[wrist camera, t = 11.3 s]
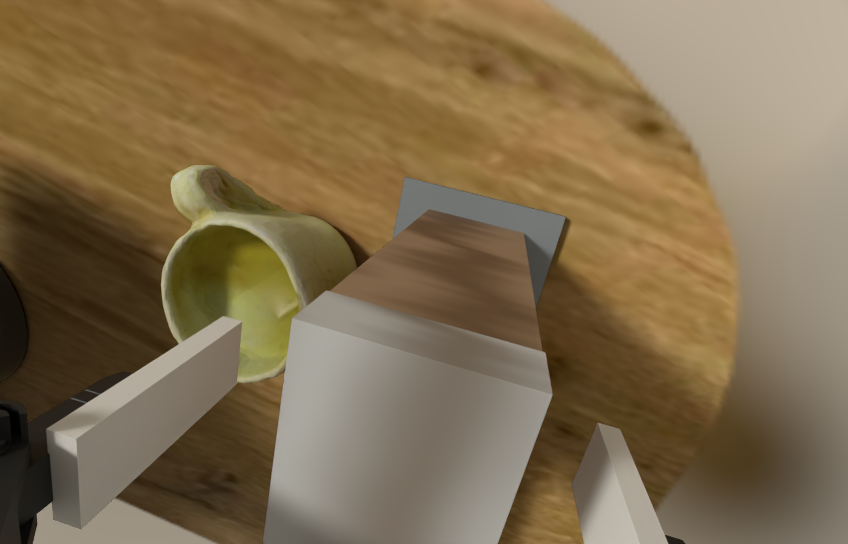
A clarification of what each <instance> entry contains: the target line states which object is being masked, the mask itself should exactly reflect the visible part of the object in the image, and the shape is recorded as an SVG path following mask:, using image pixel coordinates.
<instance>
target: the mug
mask: <svg viewBox="0 0 848 544" xmlns="http://www.w3.org/2000/svg"><path fill="white" fill-rule="evenodd" d="M171 194H172V198H173V202H174V205H175V207H176V209H177V210H178V212H179V214H180V215H181V216H183V217H184V218H185V219H186V220H187V221H189V222H190V223H191V224H192V227H191V229H190V230H189V231H188V232H187V233H186V234H185V235H183V236H182V237H181V238H179V239H178V240H177V241H176V242H175V244H174V246H173V248H172V249H171V251H170V253H169V255H168V257H167V259H166V262H165V265H164V267H163V271H162V280H161V291H162V301H163V307H164V311H165V315H166V318H167V322H168V325H169V328H170V330H171V333H172V335H173V337H174V338H175V339H176V340H177V342H178V343H179V344H180V343H182V342H183V341H185V340H187V339H188V338H190V337H191V336H193V335H194V334H196V333H197V332H199V331H201V330H202V329H204V328H205V327H207V326H208V325H210V324H212V323H213V322H215V321H216V320H218V319H219V318H221V317H223V316H225V317H228V318H232V319H235V320H239V321H242V331H241V342H240V353H239V364H238V376H237V382H241V383H251V382H260V381H262V380H265V379H270V378H273V377H277V376H278V375H280V374H281V373H283V372H284V371H285V368H286V361H287V353H288V345H289V337H290V330H291V322H292V318H293V317H294V316H295V315H297V314H298V313H299V312H300V311H301V310H303V309H304V308H305V307H306V306H308V305H309V304H310V303H311V302H313V301H314V300H315V299H316V298H318V297H319V296H320V295H321V294H323V293H324V292H325V291H326V290H327V291H330V290H332V289H333V288H334V287H335V286H336V285H338V284H339V283H340V282H341V281H342V280H344V279H345V278H346V277H347V276H348V275H350V274H351V273H352V272H353V271H355V270H356V269H357V268H358V267H357V264H356V261H355V258H354V255H353V253H352V251H351V249H350V247H349V245H348V244H347V242H346V241H345V239H344V238H343V237H342V236H341V234H340V233H339V232H338V231H337V230H336V229H335V228H333V227H332V226H331V225H330V224H328V223H327V222H325V221H323V220H321V219H319V218H317V217H313V216H308V215H303V214H299V213H293V212H289V211H286V210H285V209H283V208H282V207H280V206H278V205H276V204H273V203H271V202H269V201H268V200H266V199H264V198H262V197H260V196H258V195H257V194H256V193H255V192H254V191H253V190H252V189H251V188H250V187H249V186H247V185H246V184H244V183H243V182H242V181H240V180H238V179H236V178H234V177H232V176H231V175H230V174H228V172H226V171H224V170H223V169H221V168H219V167H217V166H214V165H195V166H191V167H189V168H186V169H184V170H182V171H180V172H178V173H177V174H175V175H174V176H173V178H172V181H171Z"/></svg>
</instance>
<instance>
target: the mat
mask: <svg viewBox="0 0 848 544" xmlns="http://www.w3.org/2000/svg"><path fill="white" fill-rule="evenodd" d="M429 209H431V210H435V211H439V212H443V213H447V214H451V215H455V216H459V217H463V218H467V219H471V220H475V221H479V222H483V223H487V224H491V225H494V226H498V227H502V228H506V229H510V230H514V231H518V232H522V233H524V238H525V244H526V250H527V257H528V263H529V269H530V275H531V282H532V288H533V294H534V301H535V307H536V306H537V303H538V300H539V297H540V294H541V291H542V288H543V285H544V282H545V279H546V276H547V273H548V270H549V267H550V264H551V261H552V258H553V255H554V252H555V249H556V246H557V243H558V240H559V237H560V234H561V231H562V228H563V225H564V221H565V218H566V217H565V216H562V215H558V214H554V213H550V212H546V211H542V210H538V209H534V208H530V207H526V206H522V205H518V204H514V203H510V202H505V201H501V200H497V199H493V198H489V197H485V196H481V195H477V194H473V193H469V192H465V191H461V190H457V189H453V188H449V187H445V186H441V185H437V184H432V183H428V182H424V181H420V180H416V179H412V178H408V177H405V180H404V185H403V190H402V195H401V200H400V205H399V210H398V215H397V220H396V225H395V230H394V235H393V238H395V237H396V236H397V235H398V234H399V233H401V232H402V231H403V230H404V229H405V228H407V227H408V226H409V225H410V224H412V223H413V222H414V221H415V220H416V219H418V218H419V217H420V216H421V215H422V214H424V213H425V212H426V211H427V210H429Z"/></svg>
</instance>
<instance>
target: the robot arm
mask: <svg viewBox="0 0 848 544" xmlns="http://www.w3.org/2000/svg"><path fill="white" fill-rule="evenodd" d="M241 331H242V321H239V320H235V319H232V318H228V317H225V316H223V317H221V318H219V319H218V320H216V321H215V322H213V323H212V324H210V325H208V326H207V327H205V328H204V329H202V330H201V331H199V332H197V333H196V334H194V335H193V336H191V337H190V338H188V339H187V340H185V341H183V342H182V343H180V344H179V345H177V346H176V347H174V348H172V349H171V350H169V351H168V352H166V353H165V354H163V355H161V356H160V357H158V358H157V359H155V360H154V361H152V362H150V363H149V364H147V365H146V366H144V367H143V368H141V369H139V370H138V371H136V372H135V373H133V374H130V373H127V372H120V373H117V374H114V375H111V376H109V377H106V378H103V379H101V380H99V381H98V382H96V383H94V384H93V385H91V386H89V387H88V388H86V390H85V391H81V392H79V393H78V394H76V395H74V396H73V397H72V398H71V399H68V400H66V401H64V402H63V403H61V404H59V405H58V406H56V407H54V408H53V409H51V410H49V411H48V412H46V413H44V414H43V415H41V416H39V417H38V418H36V419H34V420H33V421H31V422H29V423H28V422H27V412H26V407H25V406H24V405H23V404H21V403H20V402H16V401H11V400H0V544H33V540H34V536H35V531H36V527H37V515H36V514H37V513H38V512H40V511H41V510H42V509H43V508H45V507H46V506H47V505H48V504H50V503H51V502H52V509H53V520H56V521H59V522H62V523H64V524H67V525H70V526H73V527H76V528H79V529H82V528H83V527H84V526H85V525H86V524H87V523H88V522H89V521H90V520H92V519H93V518H94V517H95V516H96V515H97V514H98V513H99V512H100V511H101V510H102V509H103V508H104V507H105V506H107V504H109V503H110V502H111V501H112V500H113V499H114V498H115V497H116V496H117V495H118V494H120V493H121V492H122V491H123V490H124V489H125V488H126V487H127V486H128V485H129V484H130V483H131V482H132V481H133V480H135V479H136V478H137V477H138V476H139V475H140V474H141V473H142V472H143V471H144V470H145V469H146V468H147V467H148V466H150V465H151V464H152V463H153V462H154V461H155V460H156V459H157V458H158V457H159V456H160V455H161V454H162V453H164V452H165V451H166V450H167V449H168V448H169V447H170V446H171V445H172V444H173V443H174V442H175V441H176V440H177V439H179V438H180V437H181V436H182V435H183V434H184V433H185V432H186V431H187V430H188V429H189V428H190V427H191V426H193V425H194V424H195V423H196V422H197V421H198V420H199V419H200V418H201V417H202V416H203V415H204V414H205V413H206V412H208V411H209V410H210V409H211V408H212V407H213V406H214V405H215V404H216V403H217V402H218V401H219V400H220V399H222V398H223V397H224V396H225V395H226V394H227V393H228V392H229V391H230V390H231V389H232V388H233V387H234V386H235V385H237V376H238V364H239V353H240V342H241ZM26 346H27V328H26V321H25V317H24V313H23V309H22V306H21V304H20V301H19V298H18V296H17V294H16V292H15V290H14V288H13V286H12V284H11V283H10V281H9V279H8V278H7V276H6V275H5V273H4V272H3V270H2V269H1V268H0V381H2V380H4V379H6V378H8V377H9V376H11V375H12V374H13V373H14V372H15V371H16V370H17V369H18V368H19V366H20V364H21V363H22V361H23V358H24V355H25V352H26ZM572 489H573V493H574V498H575V503H576V507H577V512H578V517H579V522H580V526H581V531H582V536H583V540H584V544H685V543H684V542H683V540H680V539H677V538H673V537H671V536H667V535H664V532H663V530H662V528H661V525H660V523H659V520H658V518H657V516H656V513H655V511H654V508H653V506H652V504H651V501H650V499H649V496H648V494H647V492H646V489H645V487H644V485H643V482H642V480H641V477H640V475H639V473H638V470H637V468H636V466H635V463H634V461H633V458H632V456H631V454H630V451H629V449H628V447H627V444H626V442H625V439H624V437H623V435H622V432H621V430H620V429H618V428H615V427H611V426H608V425H604V424H601V423H597V425H596V428H595V430H594V432H593V435H592V437H591V440H590V442H589V444H588V447H587V449H586V451H585V454H584V456H583V459H582V461H581V463H580V466H579V468H578V471H577V473H576V475H575V478H574V480H573V482H572Z"/></svg>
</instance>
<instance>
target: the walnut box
mask: <svg viewBox="0 0 848 544" xmlns="http://www.w3.org/2000/svg"><path fill="white" fill-rule="evenodd" d="M552 395H553V394H552V388H551V382H550V376H549V371H548V365H547V359H546V353H545V352H543V351H542V345H541V338H540V332H539V326H538V320H537V313H536V307H535V301H534V294H533V288H532V282H531V275H530V269H529V263H528V257H527V250H526V244H525V238H524V233H522V232H518V231H514V230H510V229H506V228H502V227H498V226H494V225H491V224H487V223H483V222H479V221H475V220H471V219H467V218H463V217H459V216H455V215H451V214H447V213H443V212H439V211H435V210H431V209H429V210H427V211H426V212H425V213H424V214H422V215H421V216H420V217H419V218H418V219H416V220H415V221H414V222H413V223H412V224H410V225H409V226H408V227H407V228H405V229H404V230H403V231H402V232H401V233H399V234H398V235H397V236H396V237H395V238H393V239H392V240H391V241H390V242H389V243H387V244H386V245H385V246H384V247H382V248H381V249H380V250H379V251H378V252H376V253H375V254H374V255H373V256H372V257H370V258H369V259H368V260H367V261H365V262H364V263H363V264H362V265H361V266H359V267H358V268H357V269H356V270H355V271H353V272H352V273H351V274H350V275H348V276H347V277H346V278H345V279H344V280H342V281H341V282H340V283H339V284H338V285H336V286H335V287H334V288H333V289H332V290H330V291H327V290H326V291H325V292H324V293H323V294H321V295H320V296H319V297H318V298H316V299H315V300H314V301H313V302H311V303H310V304H309V305H308V306H306V307H305V308H304V309H303V310H301V311H300V312H299V313H298V314H297V315H295V316H294V317H293V318H292V322H291V330H290V337H289V345H288V353H287V361H286V368H285V376H284V384H283V391H282V399H281V407H280V414H279V422H278V430H277V437H276V445H275V453H274V461H273V468H272V476H271V484H270V491H269V499H268V507H267V514H266V522H265V530H264V537H263V544H498V541H499V538H500V536H501V533H502V530H503V528H504V525H505V522H506V520H507V517H508V514H509V511H510V509H511V506H512V503H513V501H514V498H515V495H516V493H517V490H518V487H519V484H520V482H521V479H522V476H523V474H524V471H525V468H526V465H527V463H528V460H529V457H530V455H531V452H532V449H533V447H534V444H535V441H536V438H537V436H538V433H539V430H540V428H541V425H542V422H543V420H544V417H545V414H546V411H547V409H548V406H549V403H550V401H551V398H552Z"/></svg>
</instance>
